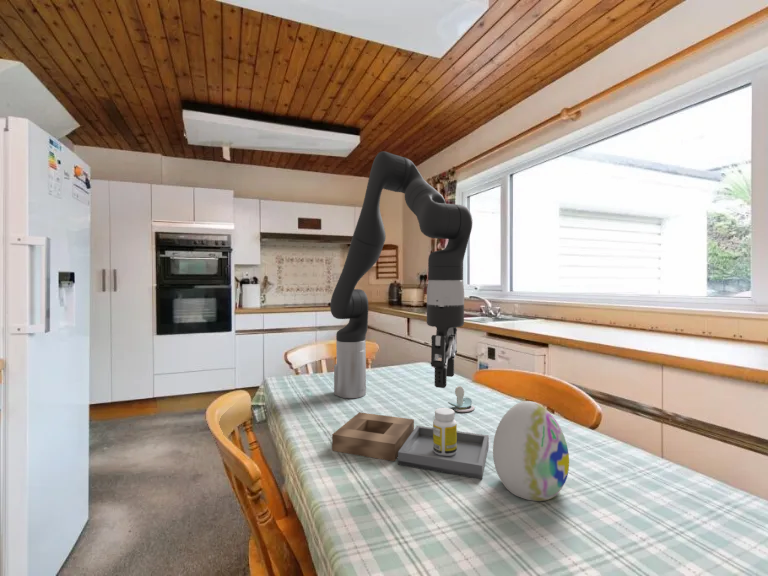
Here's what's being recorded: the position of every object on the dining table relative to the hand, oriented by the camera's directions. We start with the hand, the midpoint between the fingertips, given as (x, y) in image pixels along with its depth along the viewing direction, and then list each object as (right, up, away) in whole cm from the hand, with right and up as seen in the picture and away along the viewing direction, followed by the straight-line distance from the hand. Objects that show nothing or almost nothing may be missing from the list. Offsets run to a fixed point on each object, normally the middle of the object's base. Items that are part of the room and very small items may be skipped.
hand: (444, 381), depth 77 cm
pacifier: (+9, -15, +28) cm, 33 cm away
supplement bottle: (0, -15, 0) cm, 15 cm away
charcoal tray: (0, -15, 0) cm, 15 cm away
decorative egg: (+13, -16, -12) cm, 23 cm away
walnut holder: (-14, -15, +7) cm, 22 cm away
